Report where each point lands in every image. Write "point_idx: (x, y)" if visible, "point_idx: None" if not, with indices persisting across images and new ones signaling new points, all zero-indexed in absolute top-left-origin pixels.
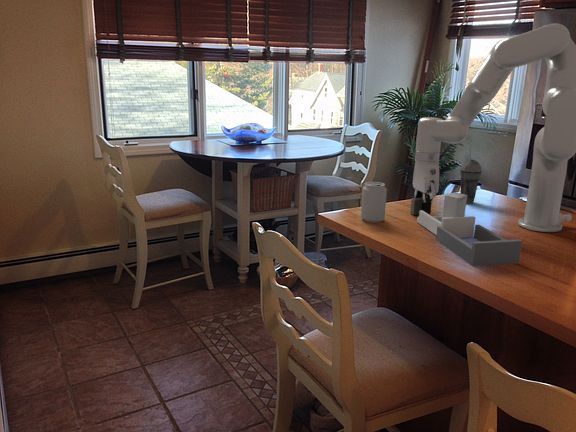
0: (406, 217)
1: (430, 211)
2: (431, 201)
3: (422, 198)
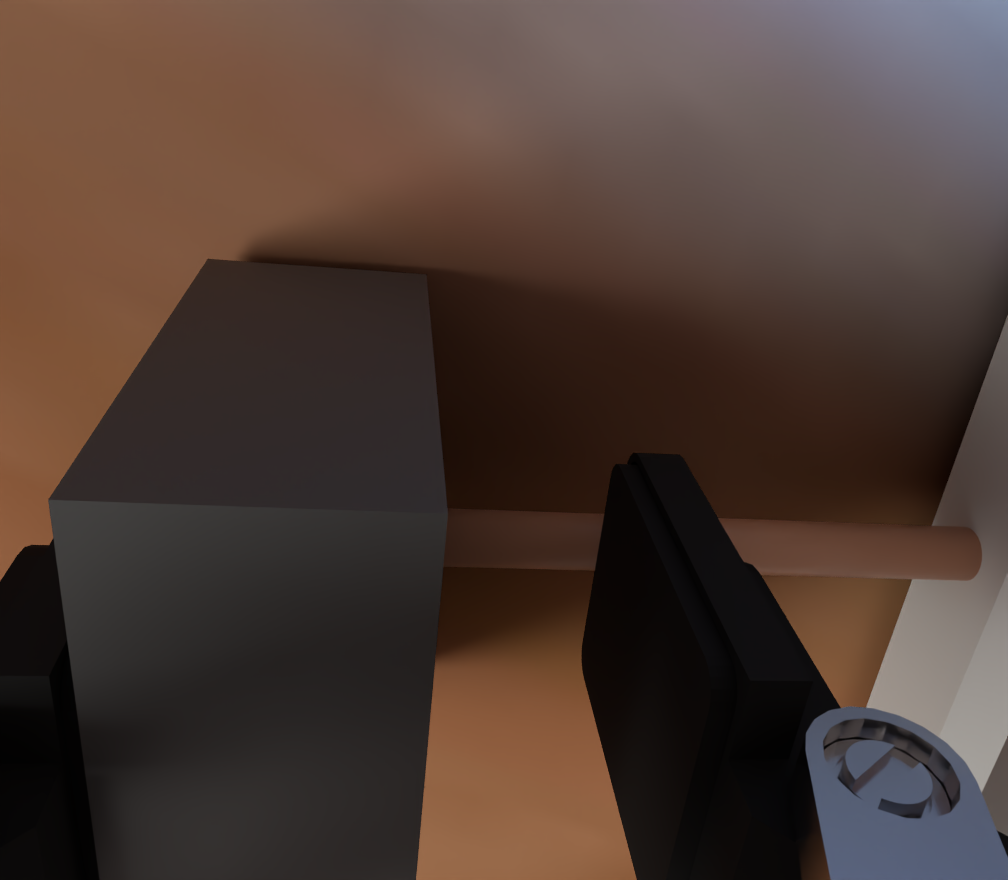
0: (467, 811)
1: (687, 480)
2: (935, 782)
3: (257, 819)
